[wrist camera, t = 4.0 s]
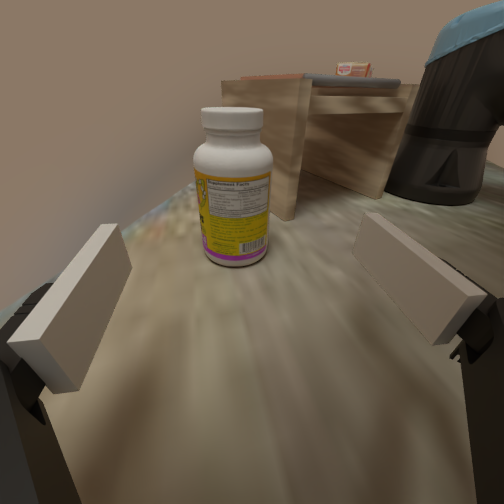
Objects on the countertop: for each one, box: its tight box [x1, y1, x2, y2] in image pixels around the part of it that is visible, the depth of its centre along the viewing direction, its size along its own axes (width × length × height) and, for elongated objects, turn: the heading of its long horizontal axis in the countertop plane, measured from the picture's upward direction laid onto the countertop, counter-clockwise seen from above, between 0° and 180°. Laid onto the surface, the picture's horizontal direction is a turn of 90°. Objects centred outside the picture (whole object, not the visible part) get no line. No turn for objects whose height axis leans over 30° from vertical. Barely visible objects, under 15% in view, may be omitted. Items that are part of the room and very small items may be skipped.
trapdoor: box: [241, 73, 401, 89], centre depth 33 cm, size 15×16×1 cm
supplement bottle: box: [193, 107, 273, 266], centre depth 22 cm, size 7×7×13 cm
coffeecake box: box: [336, 62, 374, 78], centre depth 63 cm, size 15×7×20 cm, turn 153°
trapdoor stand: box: [221, 78, 420, 221], centre depth 37 cm, size 19×20×15 cm
